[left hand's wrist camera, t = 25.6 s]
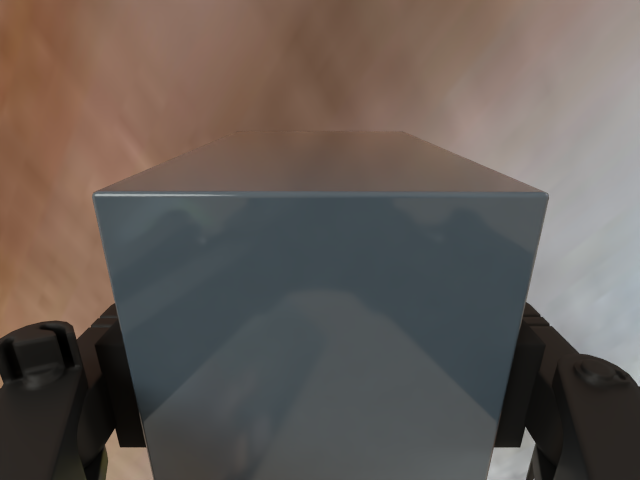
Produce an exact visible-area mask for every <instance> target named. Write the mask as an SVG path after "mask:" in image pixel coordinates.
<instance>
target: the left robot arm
mask: <svg viewBox="0 0 640 480" xmlns="http://www.w3.org/2000/svg"><path fill="white" fill-rule="evenodd" d="M0 375H1V377H2V380H3V383H4V384H3V386H2V388H0V480H106V472H107V465H108V457H107V451H106V447H105V444H106V442H107V440H108V439H109V437H110V435H111V434H112V432H113V431H114V429H116V433H117V437H118V441H119V445H120V447H146V443H145V438H144V434H143V429H142V425H141V420H140V415H139V411H138V406H137V402H136V397H135V392H134V388H133V383H132V378H131V374H130V369H129V365H128V360H127V355H126V351H125V346H124V342H123V337H122V332H121V328H120V323H119V318H118V314H117V309H116V305H115V303H114V304H113V305H111V306H110V307H109V308H108V309H107V310H106V311H105V312H104V313H103V314H102V315H101V316H100V318H98V319H97V320H96V321H95V322H94V323H93V324H92V325H91V328H88V329H87V330H86V331H85V332H84V333H83V334H82V335H81V336H80V337H79V338H78V339H77V340H76V336H75V332H74V329H73V326H72V325H70V324H69V323H67V322H63V321H46V322H40V323H36V324H32V325H28V326H25V327H23V328H20V329H18V330H15V331H13V332H11V333H9V334H7V335H6V336H4V337H2V338H1V339H0ZM525 426H526V428H527V430H528V431H529V433H530V435H531V436H532V438H533V439H534V441H535V443H536V444H535V447H534V451H533V455H532V458H531V462H530V466H529V470H528V473H527V477H526V480H533V479H534V478H535V480H640V387H639V386H638V385H637V383H636V382H635V381H634V380H633V378H632V377H631V376H630V375H629V374H628V373H627V372H625V371H624V370H622V369H621V368H619V367H618V366H616V365H614V364H612V363H610V362H608V361H606V360H604V359H601V358H597V357H594V356H591V355H586V354H579V353H578V352H577V351H576V350H575V349H574V348H573V347H572V346H571V345H570V344H569V343H568V342H567V341H566V340H565V339H564V338H563V337H562V336H561V335H560V334H559V333H558V332H557V331H556V330H555V329H554V328H553V327H552V326H550V325H549V323H548V322H547V321H546V320H545V319H544V318H543V317H541V316H540V314H539V313H538V312H537V311H536V310H535V309H534V308H533V307H532V306H531V305H530V304H528V303H527V302H526V304H525V308H524V313H523V317H522V322H521V326H520V331H519V335H518V340H517V344H516V349H515V353H514V358H513V362H512V367H511V371H510V376H509V380H508V385H507V389H506V394H505V398H504V403H503V407H502V412H501V417H500V421H499V426H498V430H497V435H496V439H495V444H494V447H520V446H521V442H522V438H523V434H524V430H525Z"/></svg>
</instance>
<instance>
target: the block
mask: <svg viewBox="0 0 640 480" xmlns="http://www.w3.org/2000/svg"><path fill="white" fill-rule="evenodd" d="M92 199H93V203H94V208H95V212H96V217H97V222H98V226H99V231H100V235H101V240H102V245H103V249H104V254H105V259H106V263H107V268H108V272H109V277H110V282H111V286H112V291H113V295H114V300H115V305H116V309H117V314H118V318H119V323H120V328H121V332H122V337H123V342H124V346H125V351H126V355H127V360H128V365H129V369H130V374H131V378H132V383H133V388H134V392H135V397H136V402H137V406H138V411H139V415H140V420H141V425H142V429H143V434H144V438H145V443H146V448H147V452H148V457H149V461H150V466H151V471H152V475H153V480H487V475H488V471H489V466H490V462H491V457H492V453H493V448H494V444H495V439H496V435H497V430H498V426H499V421H500V417H501V412H502V407H503V403H504V398H505V394H506V389H507V385H508V380H509V376H510V371H511V367H512V362H513V358H514V353H515V349H516V344H517V340H518V335H519V331H520V326H521V322H522V317H523V313H524V308H525V304H526V299H527V295H528V290H529V286H530V281H531V277H532V272H533V268H534V263H535V259H536V254H537V250H538V245H539V241H540V236H541V231H542V227H543V222H544V218H545V213H546V209H547V204H548V200H549V196H548V193H546V192H544V191H541V190H539V189H537V188H534V187H532V186H530V185H527V184H525V183H523V182H520V181H518V180H516V179H513V178H511V177H509V176H506V175H504V174H501V173H499V172H497V171H494V170H492V169H490V168H487V167H485V166H483V165H480V164H478V163H476V162H473V161H471V160H469V159H466V158H464V157H462V156H459V155H457V154H455V153H452V152H450V151H447V150H445V149H443V148H440V147H438V146H436V145H433V144H431V143H429V142H426V141H424V140H422V139H419V138H417V137H415V136H412V135H410V134H408V133H405V132H394V131H237V132H235V133H232V134H230V135H228V136H225V137H223V138H220V139H218V140H216V141H213V142H211V143H209V144H206V145H204V146H202V147H199V148H197V149H195V150H192V151H190V152H187V153H185V154H183V155H180V156H178V157H176V158H173V159H171V160H169V161H166V162H164V163H162V164H159V165H157V166H155V167H152V168H150V169H147V170H145V171H143V172H140V173H138V174H136V175H133V176H131V177H129V178H126V179H124V180H122V181H119V182H117V183H114V184H112V185H110V186H107V187H105V188H103V189H100V190H98V191H96V192H94V193H93V196H92Z"/></svg>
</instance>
